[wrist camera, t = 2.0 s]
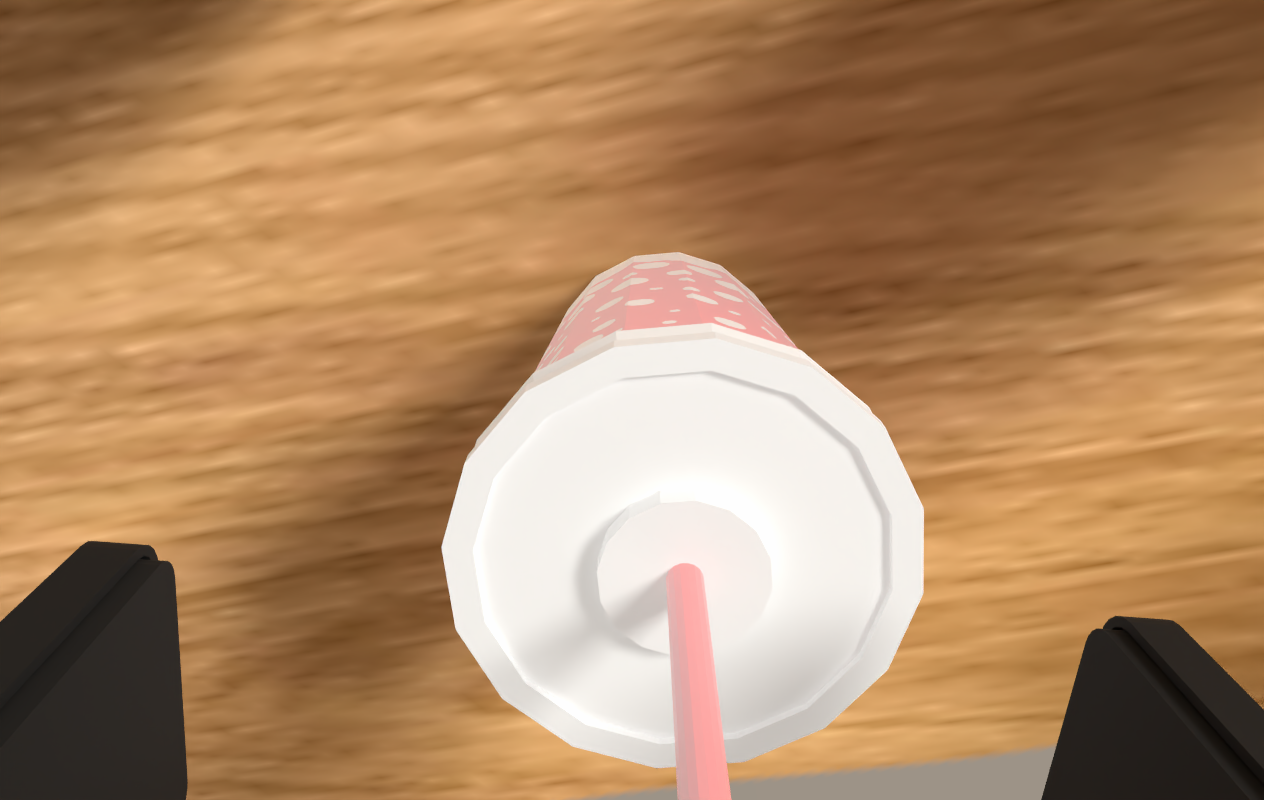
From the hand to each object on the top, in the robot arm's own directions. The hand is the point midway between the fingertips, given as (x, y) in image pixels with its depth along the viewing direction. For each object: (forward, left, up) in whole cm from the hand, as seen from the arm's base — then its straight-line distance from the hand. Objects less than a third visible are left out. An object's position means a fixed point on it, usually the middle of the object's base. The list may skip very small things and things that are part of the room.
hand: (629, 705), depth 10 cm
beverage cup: (-1, 0, -12) cm, 12 cm away
